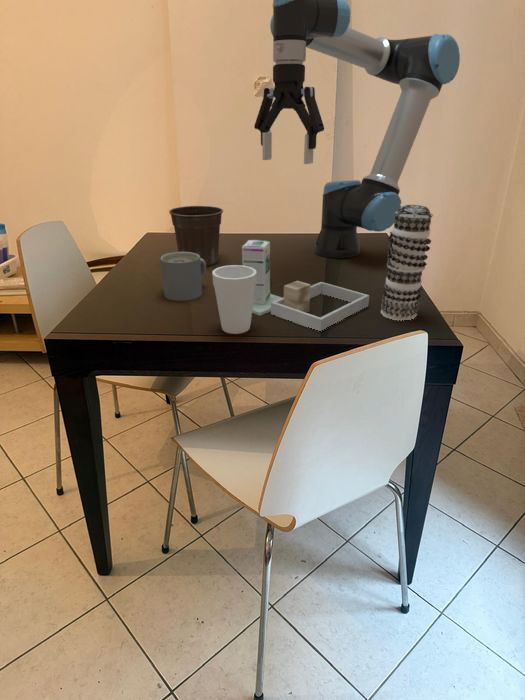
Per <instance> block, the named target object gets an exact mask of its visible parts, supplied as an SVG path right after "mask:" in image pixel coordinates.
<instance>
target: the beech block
mask: <svg viewBox="0 0 525 700" xmlns="http://www.w3.org/2000/svg"><path fill="white" fill-rule="evenodd" d="M311 286H312V284H310V283H307V282H303V281H300V280H296V281H292V282H290V283H288V284H285V285H283V297H284V305H285V306H288V307H291V308H294V309H297V310H300V311H302V312H305V313H307V312H308V313H310V304H311V299H310V288H311Z"/></svg>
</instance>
